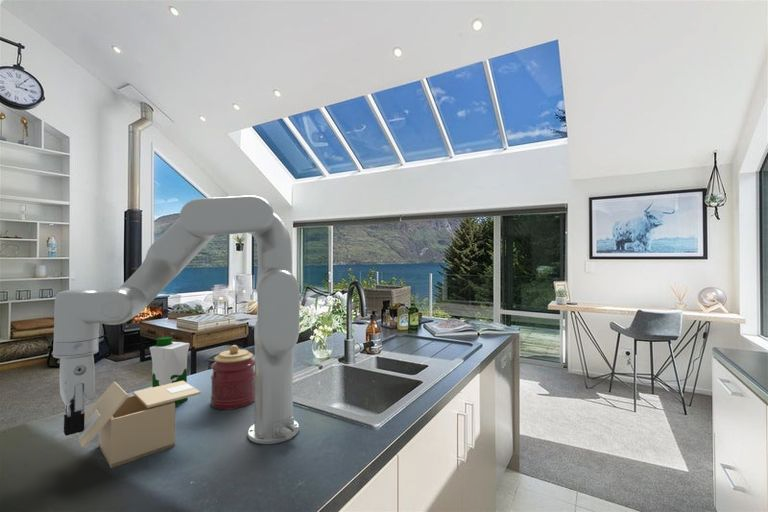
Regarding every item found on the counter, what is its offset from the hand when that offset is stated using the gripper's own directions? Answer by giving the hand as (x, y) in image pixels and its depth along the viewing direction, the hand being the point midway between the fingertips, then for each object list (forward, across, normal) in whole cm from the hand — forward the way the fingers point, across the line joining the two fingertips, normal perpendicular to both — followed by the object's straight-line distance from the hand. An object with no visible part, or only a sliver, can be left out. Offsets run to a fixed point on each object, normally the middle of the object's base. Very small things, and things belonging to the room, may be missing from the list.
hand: (73, 432), depth 79 cm
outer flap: (-3, 0, -6) cm, 6 cm away
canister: (+7, +9, -40) cm, 41 cm away
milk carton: (+7, +22, -26) cm, 35 cm away
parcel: (+7, 0, -12) cm, 14 cm away
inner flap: (-3, 0, -17) cm, 18 cm away
